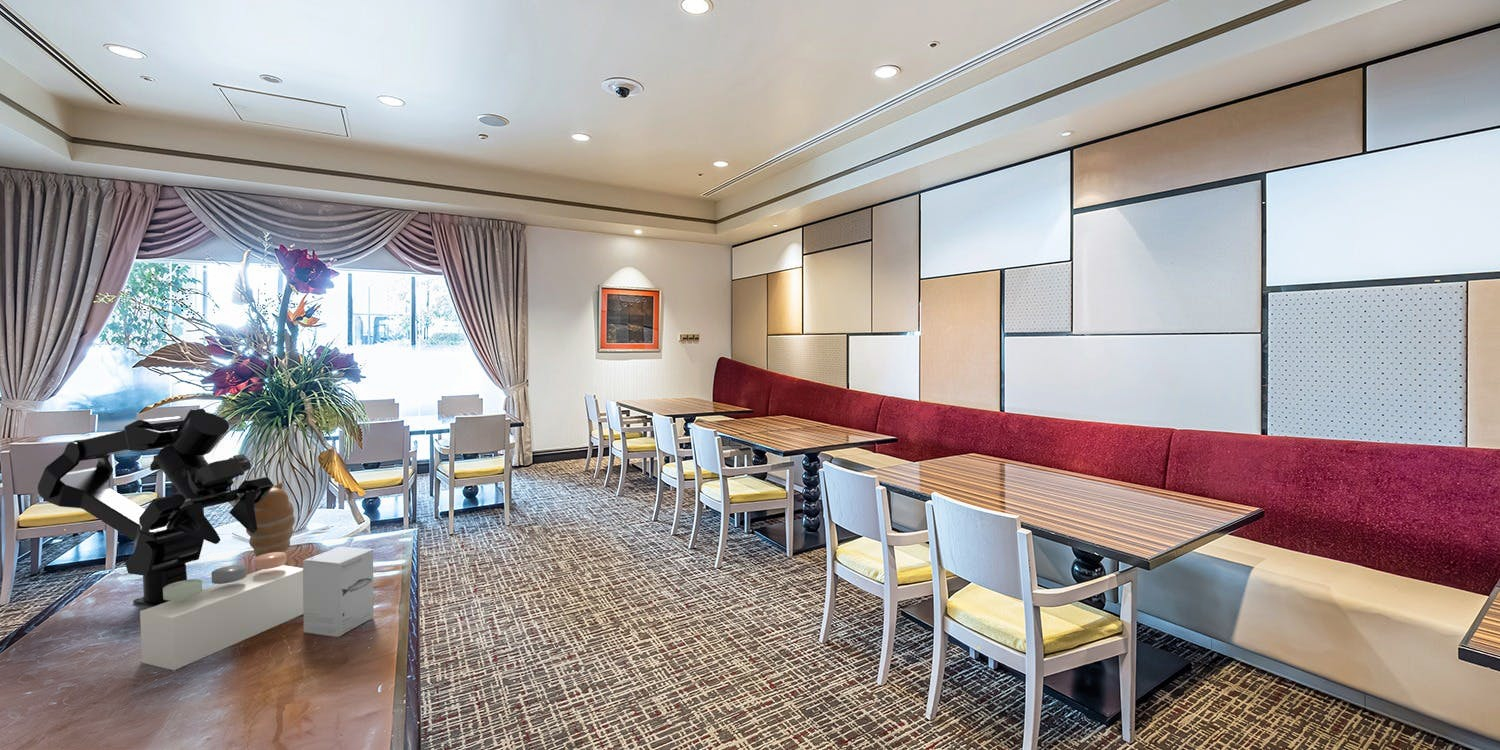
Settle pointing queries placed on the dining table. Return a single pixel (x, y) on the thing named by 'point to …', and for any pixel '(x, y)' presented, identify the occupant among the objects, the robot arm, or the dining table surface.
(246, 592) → the button bar
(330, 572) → the supplement box
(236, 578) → the grey button
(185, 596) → the sage button
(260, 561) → the terracotta button
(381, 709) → the dining table surface
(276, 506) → the cat ice cream
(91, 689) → the dining table surface
